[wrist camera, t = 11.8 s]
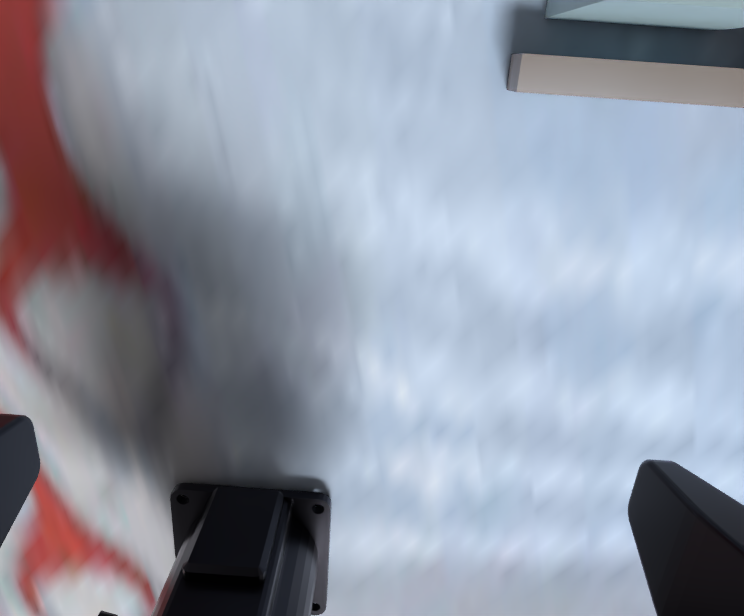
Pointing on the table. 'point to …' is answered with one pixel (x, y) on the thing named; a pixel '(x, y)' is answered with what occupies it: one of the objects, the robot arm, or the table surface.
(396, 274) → the table surface
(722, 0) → the cabinet
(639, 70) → the cleat board
